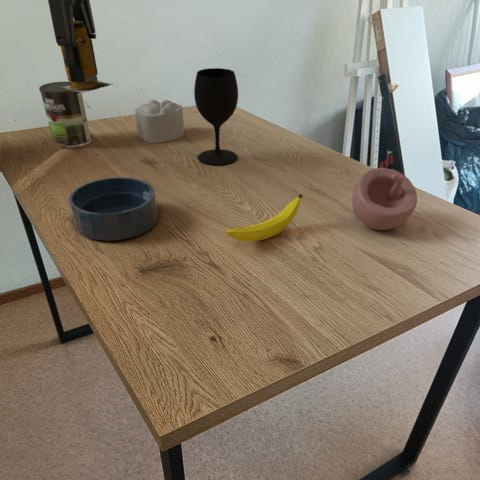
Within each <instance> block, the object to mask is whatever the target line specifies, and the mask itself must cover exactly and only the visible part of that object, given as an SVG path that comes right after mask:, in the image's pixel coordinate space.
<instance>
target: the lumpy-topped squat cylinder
mask: <svg viewBox="0 0 480 480" xmlns="http://www.w3.org/2000/svg"><path fill="white" fill-rule="evenodd" d="M134 114H135V121H136V130H137V136H138V138H139V139H142V140H144V141H145V142H146V143H148V144H161V143H167V142H170V141H171V142H172V141H174V140H178V139H180V138H182V137H183V136H184V135H185V125H184V124H185V123H184V110H183V105H181V104H179V103H176V102H173V101H171V100H168V99H164V100H162V101H160V102H159V101H158V100H156V99H151V100H149V101H148V102H147V103H144V104H141V105H140V106H138V107H136V108H135V109H134Z"/></svg>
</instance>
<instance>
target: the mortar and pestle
mask: <svg viewBox="0 0 480 480" xmlns="http://www.w3.org/2000/svg"><path fill="white" fill-rule="evenodd" d="M417 203H418V194H417V191H416V188H415V186H414V185H413V183H412V182H411V179H409V178H408V177H407V175H405V174H404V173H402V172H400V171H398V170H395V169H391V168H388V167H378V168H371V169H370V170H368V171H366V172H365V173H364V174H363V175H362V176H361V177H360V178H359V179H358V180H357V182H356V184H355V186H354V187H353V190H352V195H351V205H352V209H353V213H354V215H355V216H356V218H357V219H358V220H359V221H360V223H361V224H363V225H364V226H366V227H367V228H370V229H373V230H377V231H387V230H392V229H395V228H397V227H400V226H401V225H402V224H404V223H405V222H406V221H408V219H409V218H410V217H411V215H412V214H413V213H414V212H415V209H416V207H417Z"/></svg>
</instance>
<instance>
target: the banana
mask: <svg viewBox="0 0 480 480" xmlns="http://www.w3.org/2000/svg"><path fill="white" fill-rule="evenodd" d="M302 198H303V194H301V193H300V194H298V196H297V197H295V198H294V199H293V200H291V201H290V202H289V203H288V204H287V205H286V206H285V207H284V208H283V209H282V210H281V211H280V212H279V213H278V214H277V215H276V216H273V217H272V218H270V219H268V220H265V221H263V222H260V223H256V224H252V225H249V226H245V227H241V228H231V229H227V230H225V231H224V234H226V235H227V236H228V237H230V238H231V239H233V240H237V241H239V242H240V241H241V242H256V241H262V240H267V239H269V238H273V237H274V236H276V235H278V234H280V233H281V232H282V231H284V230H285V229H286V228H287V227H288V226H289V225H290V223H291V222H292V221H293V219H294V218H295V216H296V214H297V212H298V210H299V207H300V203H301V199H302Z"/></svg>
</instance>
